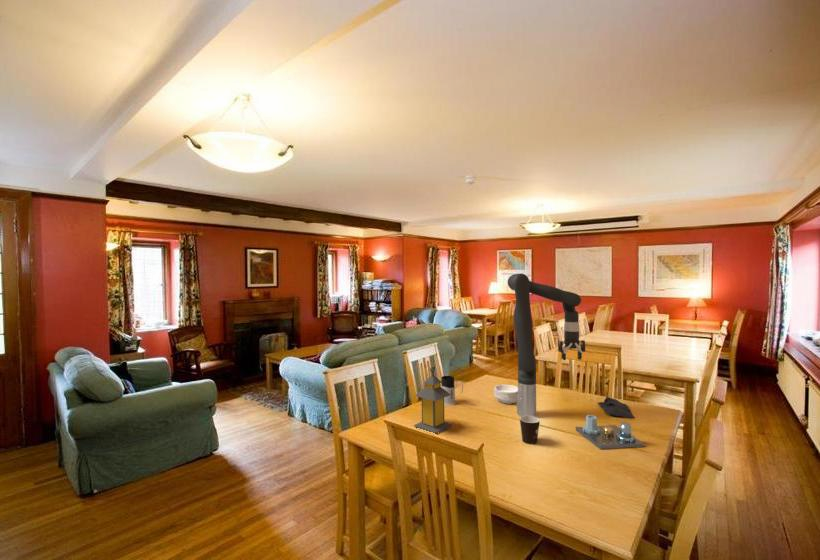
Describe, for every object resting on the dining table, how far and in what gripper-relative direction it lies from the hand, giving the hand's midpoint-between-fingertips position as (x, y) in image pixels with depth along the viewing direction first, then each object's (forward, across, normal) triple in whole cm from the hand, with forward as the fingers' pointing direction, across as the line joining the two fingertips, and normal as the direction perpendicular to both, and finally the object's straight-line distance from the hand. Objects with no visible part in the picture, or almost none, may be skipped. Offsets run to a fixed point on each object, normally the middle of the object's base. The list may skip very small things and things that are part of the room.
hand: (571, 359), depth 209 cm
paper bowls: (+28, -29, +20) cm, 45 cm away
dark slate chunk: (+29, +24, -2) cm, 37 cm away
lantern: (+28, -78, -11) cm, 84 cm away
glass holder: (+28, -62, +20) cm, 71 cm away
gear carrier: (+28, -1, -34) cm, 44 cm away
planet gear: (+27, -6, -29) cm, 40 cm away
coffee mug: (+28, -36, -32) cm, 56 cm away
